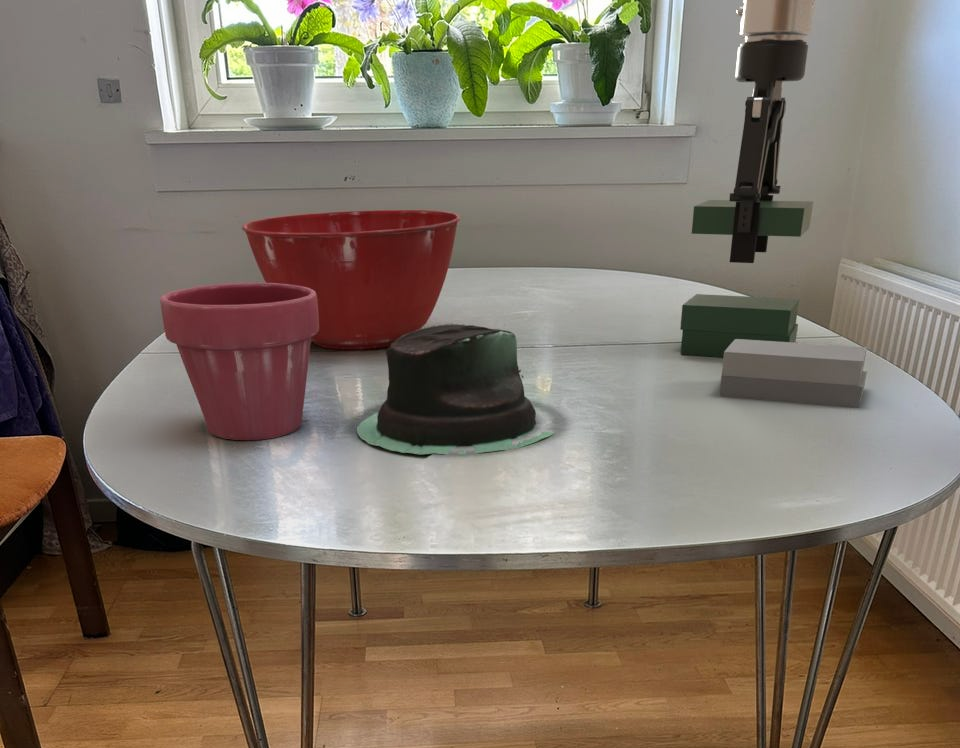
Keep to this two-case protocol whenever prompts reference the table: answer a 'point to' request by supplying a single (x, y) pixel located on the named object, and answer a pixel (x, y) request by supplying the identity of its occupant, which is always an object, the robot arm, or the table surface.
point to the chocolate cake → (452, 393)
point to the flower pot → (245, 353)
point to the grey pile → (794, 372)
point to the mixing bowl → (360, 268)
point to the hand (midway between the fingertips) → (748, 256)
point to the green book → (772, 218)
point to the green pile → (735, 322)
